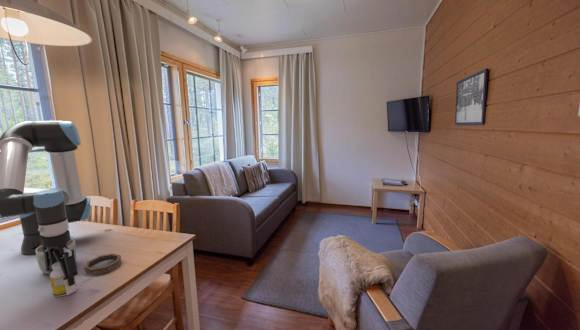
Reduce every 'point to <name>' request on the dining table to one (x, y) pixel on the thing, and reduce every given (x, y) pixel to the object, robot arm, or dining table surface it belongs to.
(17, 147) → the robot arm
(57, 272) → the pill bottle
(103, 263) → the holder
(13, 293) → the dining table surface
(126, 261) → the dining table surface
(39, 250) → the planter
